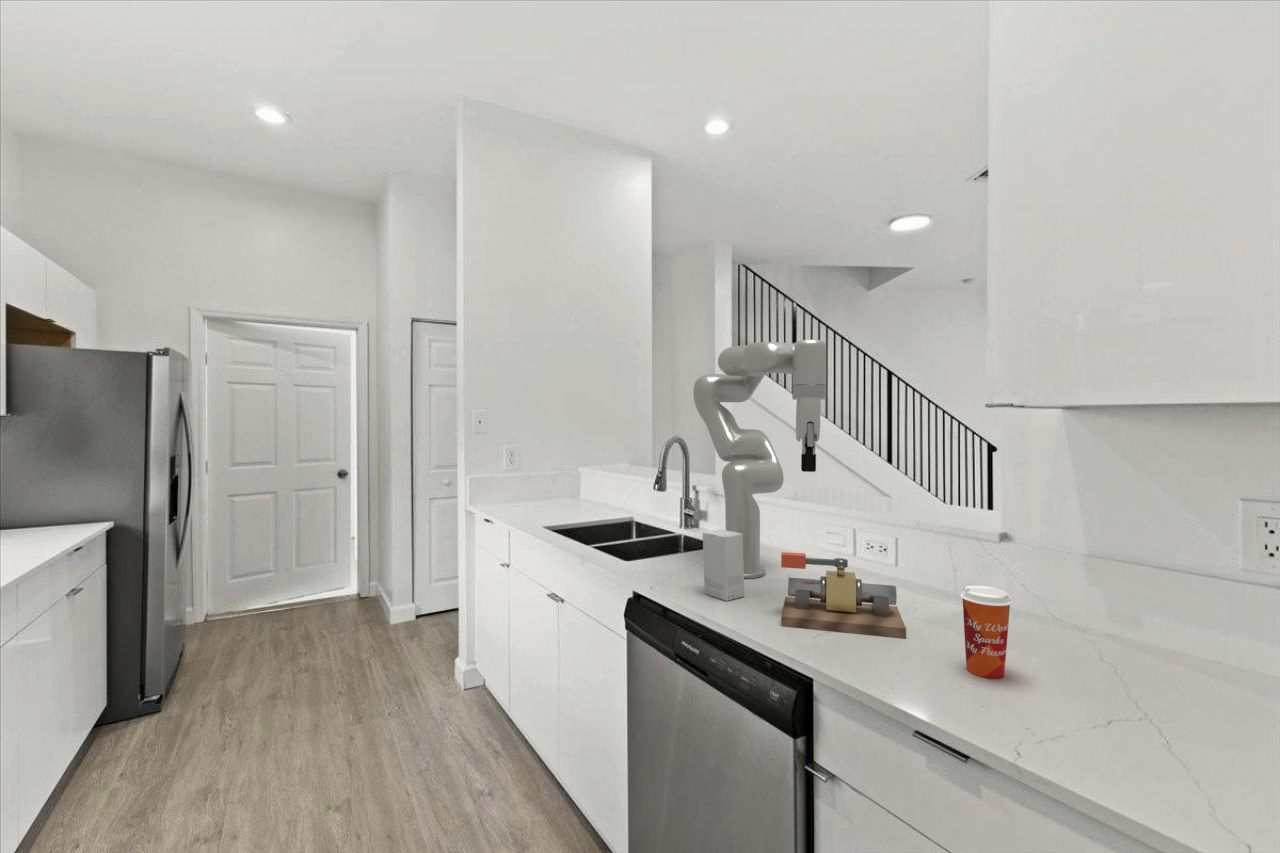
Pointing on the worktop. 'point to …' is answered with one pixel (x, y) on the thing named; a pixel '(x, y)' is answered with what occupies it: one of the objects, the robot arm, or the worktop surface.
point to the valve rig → (843, 605)
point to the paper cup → (986, 630)
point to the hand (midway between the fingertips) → (808, 471)
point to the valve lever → (808, 561)
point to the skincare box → (723, 564)
